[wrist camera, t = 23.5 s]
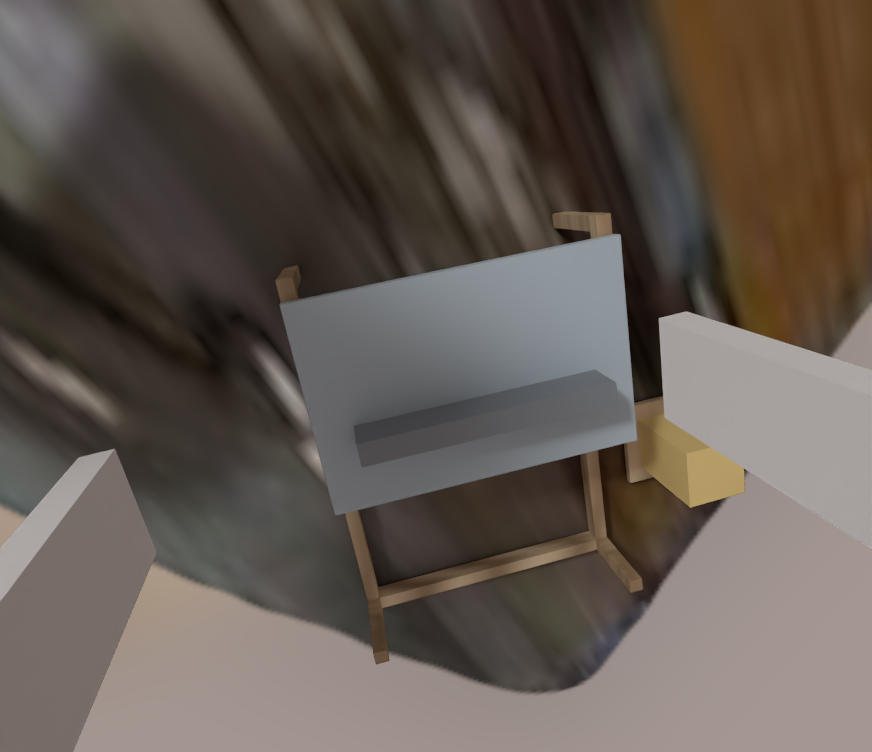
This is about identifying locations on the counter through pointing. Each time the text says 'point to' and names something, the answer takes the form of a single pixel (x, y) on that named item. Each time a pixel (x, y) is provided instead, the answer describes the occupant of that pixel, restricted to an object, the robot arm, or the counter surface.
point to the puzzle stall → (504, 562)
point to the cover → (465, 371)
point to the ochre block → (687, 463)
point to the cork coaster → (634, 448)
